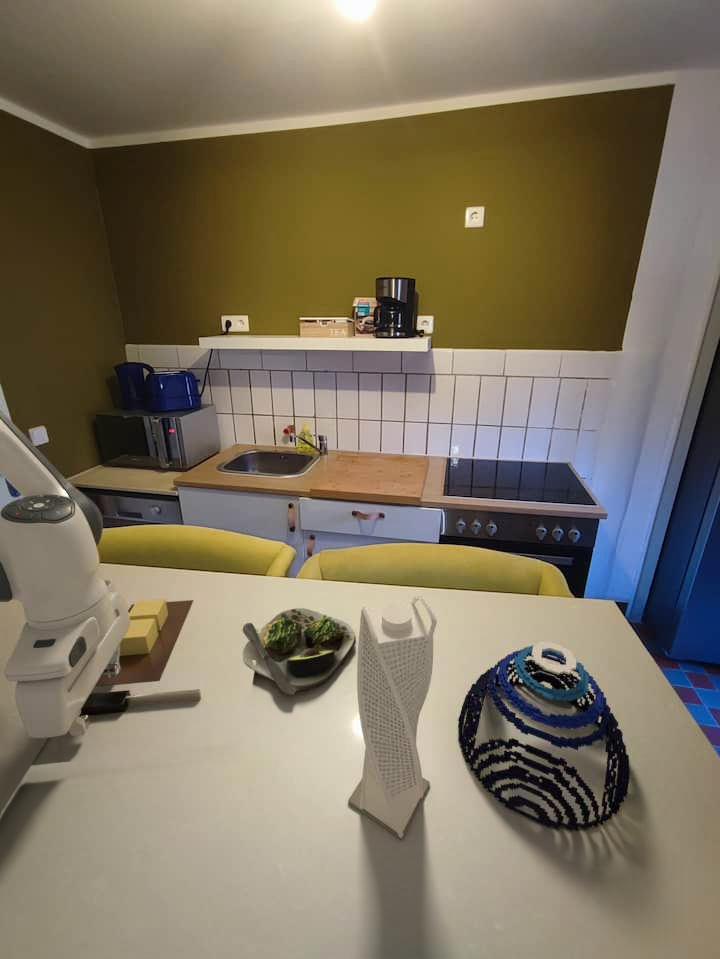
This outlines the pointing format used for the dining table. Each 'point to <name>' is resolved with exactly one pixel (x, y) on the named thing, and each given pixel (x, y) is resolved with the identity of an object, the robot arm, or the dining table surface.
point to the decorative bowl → (545, 735)
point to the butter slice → (150, 611)
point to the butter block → (139, 637)
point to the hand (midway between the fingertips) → (98, 700)
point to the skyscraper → (392, 711)
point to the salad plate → (299, 648)
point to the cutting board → (152, 650)
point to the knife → (131, 700)
